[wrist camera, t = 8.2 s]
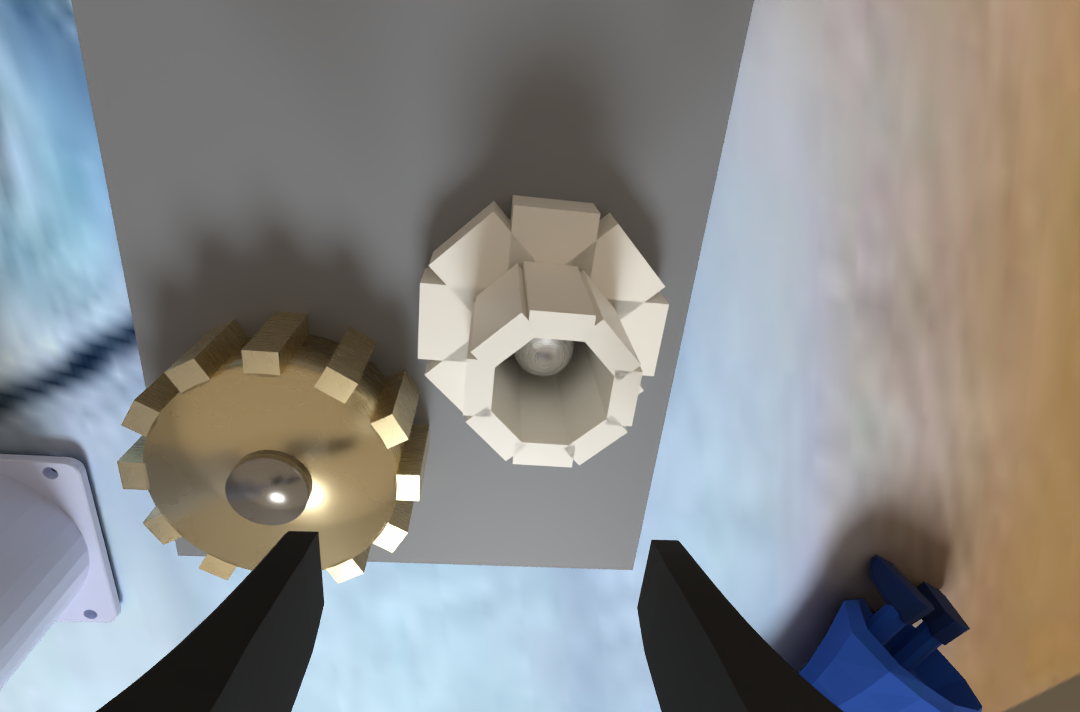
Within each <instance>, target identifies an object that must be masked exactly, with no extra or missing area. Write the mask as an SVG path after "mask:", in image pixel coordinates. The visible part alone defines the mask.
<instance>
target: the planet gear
mask: <svg viewBox="0 0 1080 712" xmlns="http://www.w3.org/2000/svg"><path fill="white" fill-rule="evenodd" d="M429 267H430V268H425V270H424V273H423V276H422V279H421V282H420V299H419V331H418V359H428V362H427V366H426V371H425V376H426V377H427V378H428V379H429V380H430V381H431V382H432V383H433V384H434V385H435V386H436V387H437V388H438V389H439V390H440V391H441V392H442V393H443V394H444V395H445V396H446V397H447V398H448V399H449V400H450V401H451V402H452V403H453V404H454V405H455V406H457V407H458V408H459V409H460V410H461V411H462V412H463V415H465V416H466V423H467V424H468V425H469V426H470V427H471V428H472V429H473V430H474V431H475V432H476V433H477V434H478V435H479V436H480V437H481V438H483V439H484V440H485V441H486V442H487V443H488V444H489V445H490V446H491V447H492V448H493V449H494V450H495V451H496V452H497V453H498V454H499V455H500V456H501V457H502V458H503V459H504V460H505V461H507V460H508V459H510V458H511V457H512V461H513V464H520V465H537V466H554V467H571V468H572V464H573V460H574V461H575V462H576V463H577V464H578V465H581V464H582V463H584V462H585V461H587V460H588V459H590V458H591V457H592V456H594V455H595V454H597V453H598V452H600V451H601V450H603V449H604V448H606V447H607V446H609V445H610V444H611V443H613V442H614V441H616V440H617V439H619V438H620V437H622V436H623V435H625V434H626V433H627V429H626V426H632V423H633V418H634V413H635V408H636V403H637V398H638V395H639V394H640V393H641V392H643V391H644V390H643V388H642V385H641V379H642V375H643V376H654V373H655V368H656V364H657V359H658V354H659V350H660V345H661V340H662V335H663V331H664V326H665V321H666V317H667V312H668V307H669V304H668V302H667V301H666V299H665V298H664V296H663V295H662V294H661V292H660V290H662V289H663V288H664V287H665V286H664V284H663V283H662V282H661V280H660V279H659V278H658V276H657V275H656V273H655V272H654V271H653V269H652V268H651V267H650V265H649V264H648V263H647V261H646V260H645V259H644V257H643V256H642V255H641V253H640V252H639V251H638V249H637V248H636V247H635V245H634V244H633V243H632V241H631V240H630V239H629V237H628V236H627V235H626V233H625V232H624V231H623V229H622V228H621V227H620V225H619V224H618V223H617V221H616V220H615V219H614V217H613V216H612V215H611V213H608V214H607V215H606V216H605V217H603V218H602V219H601V220H600V212H599V211H598V209H597V208H596V206H595V205H594V203H586V202H576V201H567V200H557V199H547V198H537V197H527V196H518V195H513V198H512V209H511V220H510V219H509V218H508V217H507V216H506V215H505V213H504V212H503V211H502V210H501V209H500V207H499V206H498V205H497V204H496V202H495V201H493V202H492V203H491V204H490V205H488V206H487V207H486V208H485V209H484V210H482V211H481V212H480V213H479V214H478V215H476V216H475V217H474V218H473V219H472V220H470V221H469V222H468V223H467V224H466V225H464V226H463V227H462V228H461V229H460V230H459V231H457V232H456V233H455V234H454V235H453V236H451V237H450V238H449V239H448V240H447V241H445V242H444V243H443V244H442V245H441V246H439V247H438V248H437V249H436V250H435V251H433V254H432V257H431V260H430V263H429ZM533 338H544V339H557V340H569V341H573V342H574V351H573V355H572V358H571V360H570V362H569V363H568V365H567V366H566V367H565V368H564V369H563V370H562V371H560V372H559V373H557V374H555V375H552V376H546V377H541V376H535V375H532V374H530V373H528V372H527V371H525V370H524V369H523V368H522V367H521V366H520V365H519V363H518V362H517V360H516V358H515V355H514V353H515V352H516V351H517V350H519V349H520V348H521V347H523V346H524V345H525V344H527V343H528V342H529V341H530V340H532V339H533Z"/></svg>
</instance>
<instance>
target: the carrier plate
mask: <svg viewBox="0 0 1080 712" xmlns="http://www.w3.org/2000/svg"><path fill="white" fill-rule="evenodd" d="M71 1H72V6H73V11H74V17H75V22H76V27H77V32H78V37H79V43H80V48H81V53H82V58H83V63H84V69H85V74H86V79H87V84H88V89H89V95H90V100H91V105H92V110H93V115H94V121H95V126H96V131H97V136H98V141H99V147H100V152H101V157H102V162H103V167H104V173H105V178H106V183H107V188H108V193H109V199H110V204H111V209H112V214H113V219H114V225H115V230H116V235H117V240H118V245H119V251H120V256H121V261H122V266H123V271H124V277H125V282H126V287H127V292H128V297H129V302H130V308H131V313H132V318H133V323H134V328H135V334H136V339H137V344H138V349H139V354H140V360H141V365H142V370H143V375H144V380H145V386H146V389H147V388H148V387H149V386H150V385H151V384H152V383H153V382H154V381H155V380H157V379H158V378H159V377H160V376H161V375H162V374H163V373H164V372H165V371H166V370H167V369H168V368H169V367H171V366H172V365H173V364H174V363H175V362H176V361H177V360H178V359H179V358H180V357H181V356H182V355H184V354H185V353H186V352H187V351H188V350H189V349H190V348H191V347H192V346H193V345H194V344H195V343H197V342H198V341H199V340H200V339H201V338H202V337H203V336H204V335H205V334H206V333H207V332H208V331H210V330H212V329H214V328H216V327H218V326H220V325H223V324H225V323H227V322H229V321H231V320H233V319H236V321H237V322H238V323H239V325H240V326H241V327H242V329H243V330H244V331H245V333H246V334H247V336H248V337H252V336H254V335H255V334H256V333H257V332H258V331H259V330H260V329H261V328H262V326H263V325H264V324H265V323H266V322H267V321H268V320H269V319H270V318H271V316H272V315H273V314H274V313H275V312H276V311H279V312H294V313H308V322H309V334H311V335H315V336H319V337H323V338H326V339H329V340H332V341H335V342H338V343H339V342H340V341H341V339H342V338H343V336H344V335H345V333H346V331H347V330H348V328H349V327H352V328H354V329H355V330H357V331H359V332H361V333H362V334H364V335H366V336H368V337H369V338H371V339H373V340H374V341H376V345H375V347H374V349H373V351H372V354H371V356H370V358H369V361H370V362H371V363H372V364H374V365H375V366H376V367H377V368H378V369H379V370H380V371H381V372H382V373H383V374H384V375H385V376H386V377H387V378H388V377H390V376H392V375H394V374H396V373H399V372H401V371H403V370H405V369H406V371H407V372H408V374H409V375H410V377H411V379H412V380H413V382H414V383H415V385H416V387H417V388H418V390H419V391H420V395H419V399H418V403H417V407H416V412H415V416H414V420H413V424H416V425H429V451H428V456H427V461H426V467H425V472H424V478H423V483H422V489H421V494H420V499H419V501H414V503H413V508H412V514H411V519H410V524H409V529H408V533H407V534H406V536H405V537H404V538H403V539H402V541H401V542H400V543H399V545H398V546H397V547H396V548H395V550H394V551H393V552H390V551H388V550H386V549H384V548H382V547H380V546H378V545H375V544H371V547H370V551H369V555H368V559H367V561H368V562H400V563H431V564H462V565H493V566H525V567H556V568H587V569H618V570H633V566H634V561H635V556H636V552H637V547H638V542H639V538H640V533H641V528H642V524H643V519H644V514H645V509H646V505H647V500H648V495H649V491H650V486H651V481H652V477H653V472H654V467H655V462H656V458H657V453H658V448H659V444H660V439H661V434H662V430H663V425H664V420H665V415H666V411H667V406H668V401H669V397H670V392H671V387H672V383H673V378H674V373H675V368H676V364H677V359H678V354H679V350H680V345H681V340H682V336H683V331H684V326H685V321H686V317H687V312H688V307H689V303H690V298H691V293H692V289H693V284H694V279H695V274H696V270H697V265H698V260H699V256H700V251H701V246H702V241H703V237H704V232H705V227H706V223H707V218H708V213H709V209H710V204H711V199H712V194H713V190H714V185H715V180H716V176H717V171H718V166H719V162H720V157H721V152H722V147H723V143H724V138H725V133H726V129H727V124H728V119H729V115H730V110H731V105H732V100H733V96H734V91H735V86H736V82H737V77H738V72H739V68H740V63H741V58H742V53H743V49H744V44H745V39H746V35H747V30H748V25H749V21H750V16H751V11H752V6H753V2H754V0H71ZM513 195H518V196H527V197H537V198H547V199H557V200H567V201H576V202H586V203H594V205H595V206H596V208H597V209H598V211H599V212H600V220H601V219H602V218H603V217H605V216H606V215H607V214H608V213H611V215H612V216H613V217H614V219H615V220H616V221H617V223H618V224H619V225H620V227H621V228H622V229H623V231H624V232H625V233H626V235H627V236H628V237H629V239H630V240H631V241H632V243H633V244H634V245H635V247H636V248H637V249H638V251H639V252H640V253H641V255H642V256H643V257H644V259H645V260H646V261H647V263H648V264H649V265H650V267H651V268H652V269H653V271H654V272H655V273H656V275H657V276H658V278H659V279H660V280H661V282H662V283H663V284H664V286H665V287H664V288H663V289H662V290H660V292H661V294H662V295H663V296H664V298H665V299H666V301H667V302H668V304H669V307H668V312H667V317H666V321H665V326H664V331H663V335H662V340H661V345H660V350H659V354H658V359H657V364H656V368H655V373H654V376H643V375H642V379H641V385H642V388H643V390H644V391H643V392H641V393H640V394H639V395H638V398H637V403H636V408H635V413H634V418H633V423H632V426H626V429H627V433H626V434H625V435H623V436H622V437H620V438H619V439H617V440H616V441H614V442H613V443H611V444H610V445H609V446H607V447H606V448H604V449H603V450H601V451H600V452H598V453H597V454H595V455H594V456H592V457H591V458H590V459H588V460H587V461H585V462H584V463H582V464H581V465H578V464H577V463H576V462H575V461H574V460H573V464H572V468H571V467H554V466H537V465H520V464H513V461H512V457H511V458H510V459H508V460H507V461H505V460H504V459H503V458H502V457H501V456H500V455H499V454H498V453H497V452H496V451H495V450H494V449H493V448H492V447H491V446H490V445H489V444H488V443H487V442H486V441H485V440H484V439H483V438H481V437H480V436H479V435H478V434H477V433H476V432H475V431H474V430H473V429H472V428H471V427H470V426H469V425H468V424H467V423H466V416H465V415H463V412H462V411H461V410H460V409H459V408H458V407H457V406H455V405H454V404H453V403H452V402H451V401H450V400H449V399H448V398H447V397H446V396H445V395H444V394H443V393H442V392H441V391H440V390H439V389H438V388H437V387H436V386H435V385H434V384H433V383H432V382H431V381H430V380H429V379H428V378H427V377H426V376H425V371H426V366H427V362H428V359H418V331H419V299H420V282H421V279H422V276H423V273H424V270H425V268H430V267H429V263H430V260H431V257H432V254H433V251H435V250H436V249H437V248H438V247H439V246H441V245H442V244H443V243H444V242H445V241H447V240H448V239H449V238H450V237H451V236H453V235H454V234H455V233H456V232H457V231H459V230H460V229H461V228H462V227H463V226H464V225H466V224H467V223H468V222H469V221H470V220H472V219H473V218H474V217H475V216H476V215H478V214H479V213H480V212H481V211H482V210H484V209H485V208H486V207H487V206H488V205H490V204H491V203H492V202H493V201H495V202H496V204H497V205H498V206H499V207H500V209H501V210H502V211H503V212H504V213H505V215H506V216H507V217H508V218H509V219H510V220H511V209H512V198H513ZM175 542H176V547H177V552H178V555H181V556H206V555H207V553H205V552H204V551H202V550H200V549H199V548H197V547H195V546H194V545H193V544H191V543H190V542H189V541H187V540H186V539H185V538H183V537H180V538H178V539H176V540H175Z"/></svg>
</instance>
